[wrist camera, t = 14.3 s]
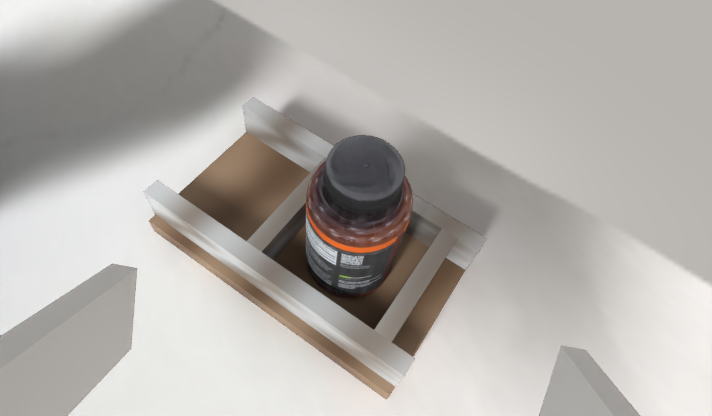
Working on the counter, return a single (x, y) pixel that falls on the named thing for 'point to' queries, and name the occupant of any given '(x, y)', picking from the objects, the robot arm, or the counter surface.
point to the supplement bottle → (356, 216)
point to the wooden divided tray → (288, 250)
